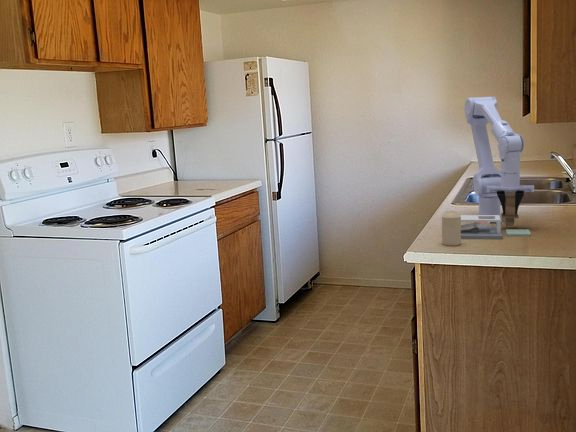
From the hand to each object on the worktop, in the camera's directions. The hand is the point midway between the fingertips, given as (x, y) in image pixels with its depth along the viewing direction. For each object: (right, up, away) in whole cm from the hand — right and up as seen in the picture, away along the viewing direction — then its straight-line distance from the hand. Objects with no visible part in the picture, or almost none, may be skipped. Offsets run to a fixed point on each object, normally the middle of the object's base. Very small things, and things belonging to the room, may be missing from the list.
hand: (509, 213), depth 200 cm
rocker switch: (-13, -4, -4) cm, 14 cm away
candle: (-23, -9, -15) cm, 29 cm away
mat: (0, -6, -7) cm, 9 cm away
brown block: (0, -4, +1) cm, 4 cm away
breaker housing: (-13, -7, -4) cm, 15 cm away
